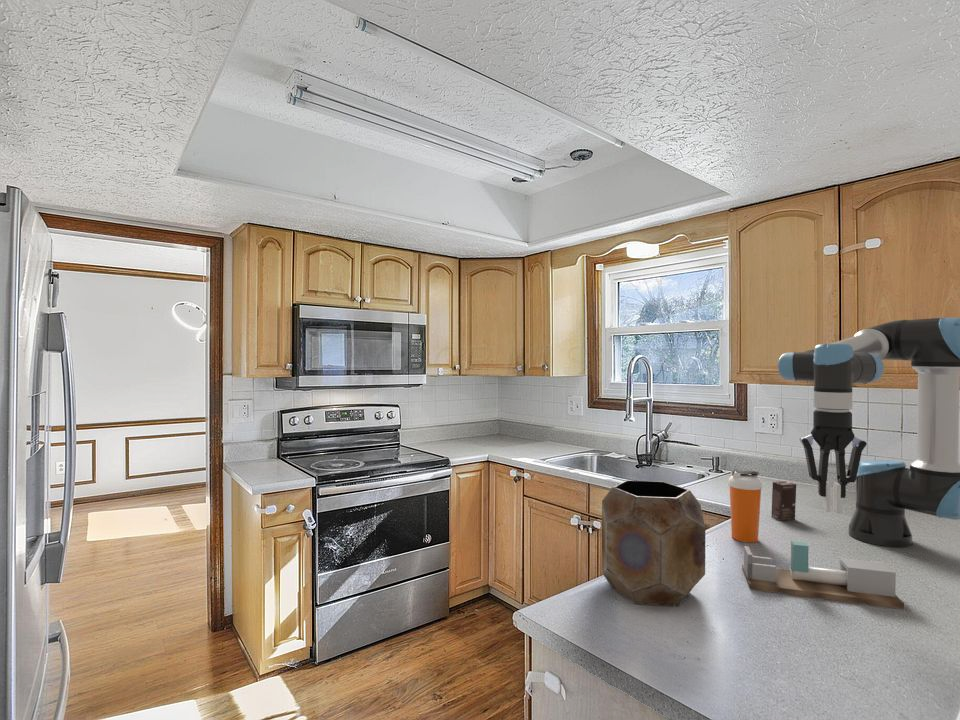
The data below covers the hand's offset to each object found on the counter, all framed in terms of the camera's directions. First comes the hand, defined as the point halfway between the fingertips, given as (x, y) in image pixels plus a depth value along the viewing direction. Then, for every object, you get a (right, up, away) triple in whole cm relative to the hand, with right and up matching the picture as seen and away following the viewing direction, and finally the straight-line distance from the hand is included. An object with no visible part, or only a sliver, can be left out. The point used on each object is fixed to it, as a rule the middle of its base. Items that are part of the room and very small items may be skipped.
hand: (831, 510), depth 123 cm
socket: (-14, -17, +5) cm, 23 cm away
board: (-3, -18, +1) cm, 19 cm away
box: (+19, -18, +53) cm, 59 cm away
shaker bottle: (-3, -18, +34) cm, 39 cm away
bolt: (+2, -17, 0) cm, 17 cm away
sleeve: (+7, -17, -2) cm, 19 cm away
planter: (-42, -19, 0) cm, 46 cm away
